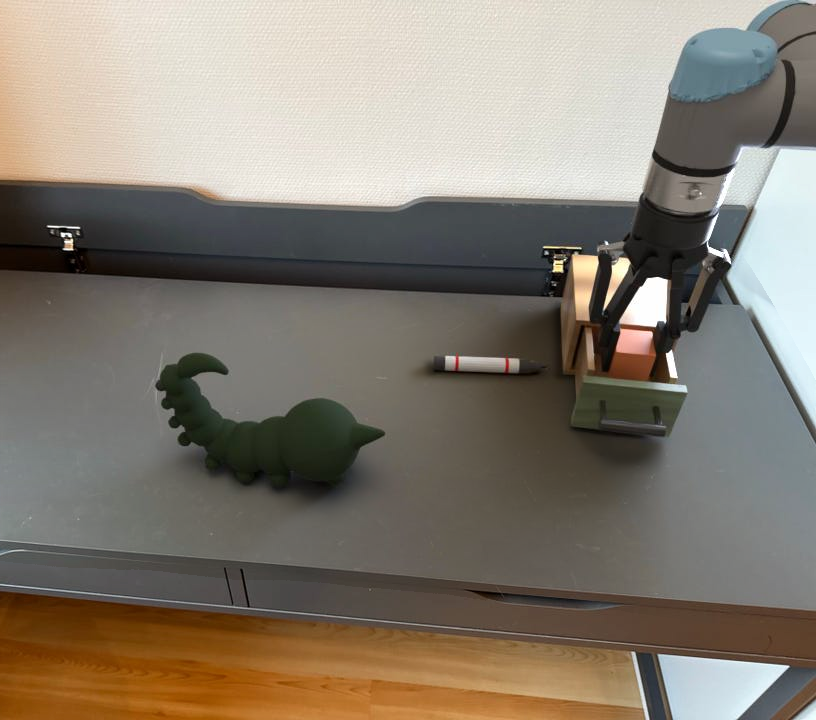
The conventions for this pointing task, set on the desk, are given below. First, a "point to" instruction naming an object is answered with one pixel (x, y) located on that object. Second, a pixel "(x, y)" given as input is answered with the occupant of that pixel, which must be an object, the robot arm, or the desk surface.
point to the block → (633, 356)
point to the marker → (486, 364)
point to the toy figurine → (264, 431)
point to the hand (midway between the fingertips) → (626, 366)
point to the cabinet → (606, 303)
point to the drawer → (623, 393)
